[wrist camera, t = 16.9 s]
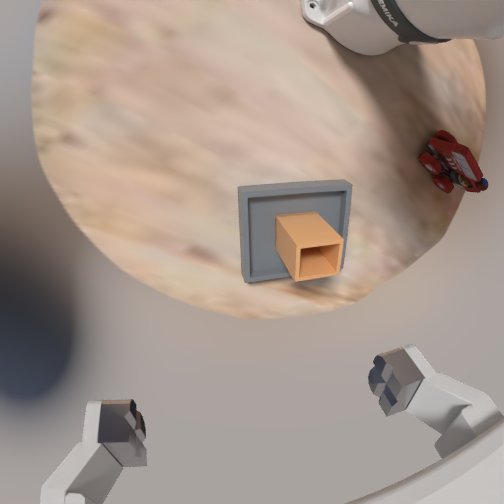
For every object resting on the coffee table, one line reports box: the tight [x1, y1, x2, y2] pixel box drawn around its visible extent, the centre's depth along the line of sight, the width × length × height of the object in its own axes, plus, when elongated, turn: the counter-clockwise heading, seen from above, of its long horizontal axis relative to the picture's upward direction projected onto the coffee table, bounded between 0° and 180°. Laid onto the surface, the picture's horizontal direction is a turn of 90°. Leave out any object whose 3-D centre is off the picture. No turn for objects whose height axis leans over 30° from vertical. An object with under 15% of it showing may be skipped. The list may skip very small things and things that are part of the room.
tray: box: [238, 180, 352, 283], centre depth 45 cm, size 16×14×2 cm
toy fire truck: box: [419, 130, 488, 193], centre depth 41 cm, size 7×12×10 cm, turn 52°
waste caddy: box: [275, 211, 344, 282], centre depth 41 cm, size 6×5×9 cm
